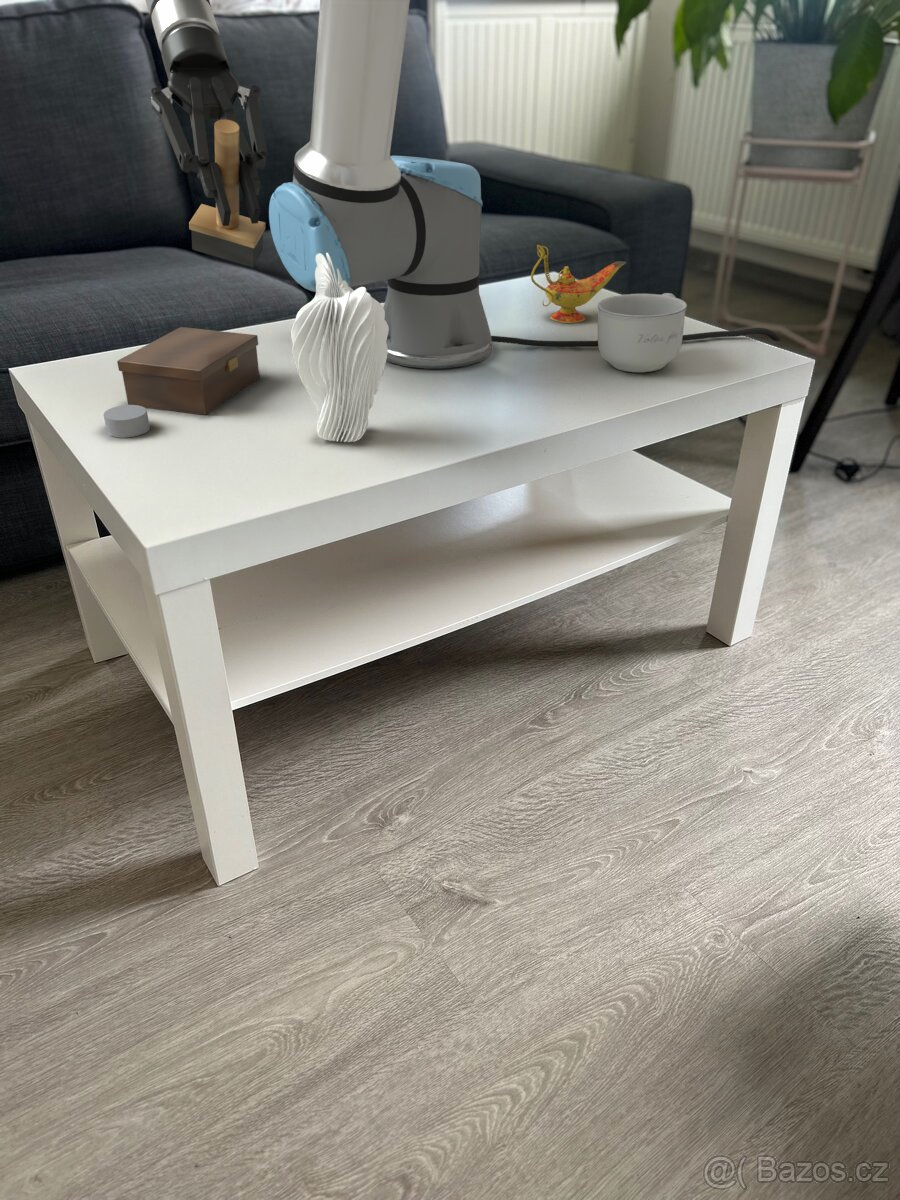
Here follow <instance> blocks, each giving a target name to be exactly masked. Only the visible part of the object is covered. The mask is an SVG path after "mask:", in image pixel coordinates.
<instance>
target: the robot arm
mask: <svg viewBox="0 0 900 1200" xmlns="http://www.w3.org/2000/svg"><path fill="white" fill-rule="evenodd" d="M410 2H411V0H319V12H318V25H317V39H316V40H317V41H316V55H315V68H314V82H313V97H312V110H311V124H310V136H309V141H308V142H307V143H306V144H305V145H304V146H303V147H301V148H300V149H299V150H298V151H296V153H295V155H294V161H293V175H292V181H291V182H290V181H289V182H284V183H282V184H281V185H279V186H277V187H276V189H275V190H274V192H272V194H271V196H270V200H269V205H268V220H269V221H268V222H269V227H270V232H271V237H272V241H273V244H274V248H275V250H276V252H277V255H278V256H279V258H280V261H281V263H282V265H283V267H284V269H286V271H287V273H288V274H289V275H290V276H291V278H292V279H293V280H294V281H295V282H296V283H297V284H298V285H300V286H301V287H303V288H304V289H306V290H308V291H311V292H315V293H316V280H315V270H316V267H317V263H316V255H317V254H319V253H320V254H322V255H323V256H324V257H325V258H326V260H327V262H328V259H327V256H326V253H328V254H329V256H330V259H331V261H332V264H333V268H334V271H335V276H336V280H337V283H338V274H337V269H339V272H340V275H341V278H342V281H346V282H347V284H348V286H349V287H350V288H353V287H358V286H362V285H367V284H373V283H377V282H382V281H387V292H386V296H385V300H384V304H383V308H384V311H385V318H384V320H385V321H386V322H387V324H388V327H389V331H388V336H387V340H386V344H387V349H388V352H387V359H386V362H389V363H392V364H395V365H399V366H403V367H410V368H416V369H452V368H459V367H460V368H461V367H464V366H469V365H473V364H477V363H479V362H481V361H484V360H485V359H487V358H488V357H489V356H490V354H491V353H492V343H502V344H512V345H514V344H515V345H521V346H526V347H527V346H528V347H546V348H599V347H598V340H538V339H527V338H518V337H511V336H500V335H492V333H491V330H490V326H489V322H488V319H487V315H486V312H485V308H484V304H483V302H482V298H481V295H480V258H481V235H482V234H481V233H482V232H481V231H482V208H483V206H484V204H483V200H482V186H481V185H482V184H481V182H482V181H481V176H480V173H479V171H478V170H477V169H476V168H475V166H472V165H470V164H467V163H461V162H456V161H450V160H442V159H435V158H427V157H418V156H407V155H391V149H392V148H391V147H392V140H393V133H394V125H395V117H396V110H397V103H398V94H399V87H400V86H399V85H400V78H401V70H402V64H403V63H402V62H403V55H404V50H405V49H404V48H405V40H406V33H407V25H408V17H409V10H410V9H409V8H410ZM145 3H146V7H147V10H148V13H149V16H150V19H151V23H152V26H153V30H154V33H155V38H156V40H157V45H158V49H159V51H160V54H161V58H162V62H163V66H164V70H165V73H166V76H167V79H168V81H167V86H166V87H165V88H163V89H161V88H159V87H152V88H151V90H150V108H151V109H152V110H153V112H154V113H155V114H156V115H157V116H158V117H159V119H160V120H161V122H162V124H163V128H164V130H165V132H166V134H167V137H168V140H169V142H170V145H171V147H172V150H173V152H174V155H175V158H176V159H177V160H176V161H177V162H178V164H179V165H178V166H179V167H180V170H181V171H182V173H183V172H184V173H186V174H189V173H191V172H194V173H196V174H197V175H196V176H197V179H198V180H199V181H200V182H201V185H202V189H203V193H204V195H205V196H206V198H207V199H211V198H214V201H215V206H216V205H217V208H218V212H219V215H220V218H221V222H222V225H223V226H229V222H230V215H231V209H230V206H229V203H228V199H227V196H226V192H225V189H224V186H223V182H222V179H221V175H220V172H219V168H218V165H217V162H216V163H215V162H210V153H209V146H208V138H207V129H206V123H205V122H206V121H205V120H208V119H213V120H216V122H217V121H218V120H224V119H225V120H231V121H234V122H236V123H237V124H238V125H239V187H240V189H241V193H242V196H243V200H244V203H245V205H246V209H247V210H246V211H247V213H248V216H249V218H250V220H251V223H252V224H255V223H258V221H260V214H261V206H260V203H259V199H258V196H259V195H260V191H261V186H262V185H261V184H262V183H261V179H260V176H259V172H258V169H259V170H262V169H265V167H266V161H267V156H268V148H267V143H266V137H265V132H264V127H263V122H262V117H261V111H260V106H259V103H260V96H261V88H260V87H259V86H258V85H252V86H251V87H250V88H248V87H244V86H241V85H240V84H239V81H238V79H236V78H235V77H234V75H233V73H232V71H231V68H230V63H229V60H228V58H227V54H226V51H225V48H224V44H223V41H222V38H221V34H220V30H219V27H218V25H217V21H216V18H215V15H214V11H213V8H212V4H211V2H210V0H145ZM237 98H238V99H239V100H240V104H241V106H242V109H243V110H245V111H246V112H245V118H246V125H247V131H248V135H249V140H250V144H251V145H250V144H249V142H248V140H247V138H246V135H245V134H244V131H243V129H242V127H241V125H240V123H239V120H238V118H237V116H236V115H235V112H234V107H233V105H234V103H235V101H236V100H237ZM173 102H174V103H175V104H177V105H178V106H179V107H180V108H181V109H182V110H184V111H185V112H186V113H187V114H189V118H190V119H189V120H190V127H191V131H192V139H193V146H194V147H193V148H194V154H193V152H192V150H191V147H190V145H189V142H188V140H187V137H186V135H185V132H184V129H183V128H182V125H181V123H180V120H179V117H178V115H177V112H176V111H175V107H174V103H173ZM250 146H251V147H250ZM328 264H329V262H328ZM329 267H330V265H329ZM330 269H331V268H330ZM331 272H332V270H331ZM332 275H333V273H332ZM333 278H334V275H333ZM334 281H335V278H334ZM335 286H336V282H335ZM336 291H337V287H336ZM749 335H763V336H764V335H765V336H767V337H768V338H770V339H771V340H772V341H774V342H781V338H780V337H779V336H778V335H777V334H776V332H774V331H772V330H770V329H768V328H765V327H752V328H751V327H750V328H745V329H737V330H720V331H719V330H717V331H708V332H697V333H690V334H683V338H682V342H686V341H695V340H704V339H714V338H730V337H731V338H734V337H742V336H749Z"/></svg>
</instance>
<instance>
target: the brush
mask: <svg viewBox="0 0 900 1200" xmlns="http://www.w3.org/2000/svg"><path fill="white" fill-rule="evenodd" d="M213 125H214V126H213V127H214V129H213V130H214V163H216V162H217V165H218V168H219V172H220V175H221V179H222V182H223V186H224V189H225V192H226V196H227V199H228V203H229V206H230V209H231V215H230V222H229V226H223V225H222V222H221V218H220V215H219V212H218V208H217V205H216V204H215V207H213V206H210V205H207V204H203V203H201V204H200V205H199V207H198V209H197V210H196V211H195V213H194V214H193V216H192V218H191V219H190V221H189V222H188V228H189V229H188V230H190V231H191V249H192V251H196V252H198V253H203V254H205V255H209V256H213V257H216V258H220V259H222V260H225V261H230V262H232V263H235V264H240V265H242V266H243V265H244V266H247V267H250V268H254V266H255V264H256V263H257V261H258V259H259V257H260V256H261V254H262V252H263V250H264V232H265V230H266V222H265V221H260V220H258V223H255V224H252V223H251V220H250V217H248V216H244V215H240V183H239V125H240V124H239V125H238V124H237V123H236V122H234V121H231V120H225V119H224V120H218V121H217V120H216V121H215V122H214V124H213Z"/></svg>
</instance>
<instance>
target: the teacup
mask: <svg viewBox="0 0 900 1200" xmlns="http://www.w3.org/2000/svg"><path fill="white" fill-rule="evenodd" d="M687 308H688V304H687V303H686V301H684V300H682V299H680V298H678V297H676V296H675V295H674V294H673V293H671V292H670V293H669V292H664V293H662V294H658V293H657V294H656V293H629V294H627V293H626V294H619V295H613V296H609V297H605V298H603V299H601V300H599V302H597V310H598V311H597V313H598V314H597V341H598V347H597V348H598V350H599V353H600V355H601V357H602V358H603V359H604V360H606V362H608V363H609V364H610V366H612V367H613V368H614V369H617V370H619V371H623V372H629V373H649V372H654V371H658V370H661V369H663V368H664V367H666V366H667V365H668V363H670V362H671V361H673V360H674V359H675V358H676V357H677V356H678V355H679V352H680V350H681V348H682V343H683V341H682V338H683V335H684V329H685V318H686V310H687Z"/></svg>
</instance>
